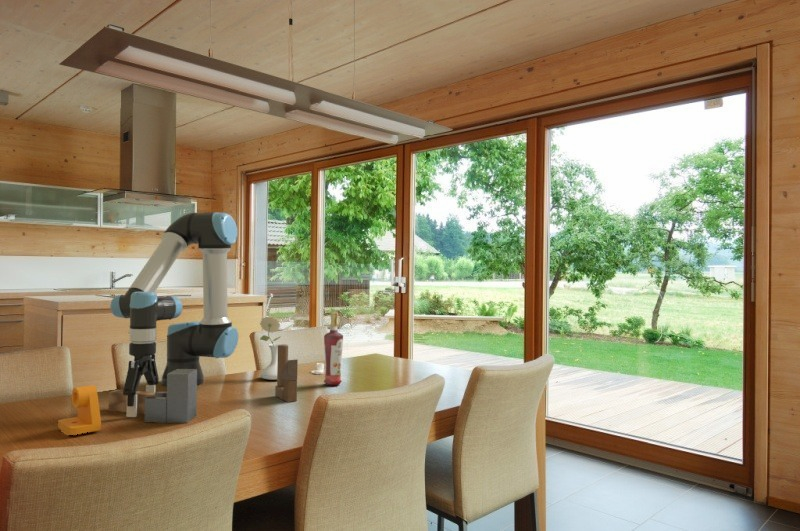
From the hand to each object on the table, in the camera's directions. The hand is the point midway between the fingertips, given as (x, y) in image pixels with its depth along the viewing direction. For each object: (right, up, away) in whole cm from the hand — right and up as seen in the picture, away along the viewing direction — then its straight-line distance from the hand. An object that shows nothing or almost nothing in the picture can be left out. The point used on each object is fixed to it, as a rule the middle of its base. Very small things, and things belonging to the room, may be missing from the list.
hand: (141, 411), depth 176 cm
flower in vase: (+28, -1, +53) cm, 60 cm away
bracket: (-7, 0, -21) cm, 22 cm away
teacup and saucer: (+43, -1, +67) cm, 80 cm away
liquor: (+54, -1, +44) cm, 69 cm away
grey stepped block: (+12, 0, -8) cm, 14 cm away
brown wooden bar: (0, 0, 0) cm, 0 cm away
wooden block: (+40, -1, +20) cm, 45 cm away
